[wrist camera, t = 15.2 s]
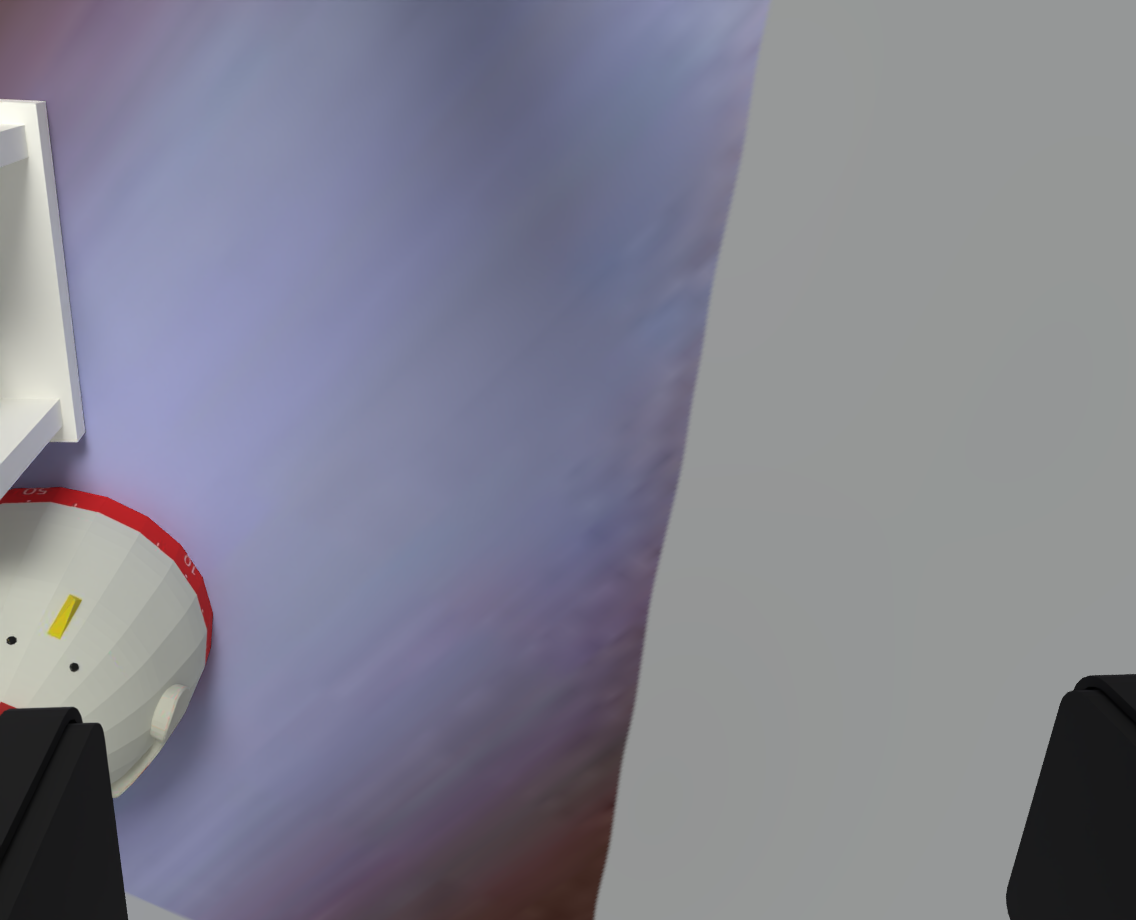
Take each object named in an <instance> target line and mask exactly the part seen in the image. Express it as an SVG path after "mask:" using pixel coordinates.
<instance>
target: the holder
mask: <svg viewBox="0 0 1136 920" xmlns="http://www.w3.org/2000/svg"><path fill="white" fill-rule="evenodd" d="M84 433H85V425H84V417H83V409H82V400H81V392H80V384H79V375H78V367H77V359H76V351H75V342H74V334H73V326H72V317H71V309H70V301H69V292H68V284H67V276H66V268H65V259H64V251H63V243H62V234H61V226H60V218H59V209H58V201H57V193H56V184H55V176H54V168H53V160H52V151H51V143H50V135H49V126H48V118H47V110H46V101H29V100H10V99H0V500H1V499H2V497H3V496H4V495H5V494H6V493H7V491H8V490H9V489H10V488H11V487H12V485H13V484H14V483H15V482H16V481H17V479H18V478H19V477H20V476H21V475H22V473H23V472H24V471H25V470H26V469H27V467H28V466H29V465H30V464H31V463H32V462H33V460H34V459H35V458H36V457H37V456H38V454H39V453H40V452H41V451H42V450H43V448H44V447H45V446H46V445H47V444H48V442H78V441H79V440H80V438H81V437H82V436H83V435H84Z"/></svg>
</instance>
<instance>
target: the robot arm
mask: <svg viewBox="0 0 1136 920" xmlns="http://www.w3.org/2000/svg"><path fill="white" fill-rule="evenodd" d="M1006 904H1007V909H1008V914H1009V917H1010V920H1136V674H1126V675H1095V676H1087V677H1084V678H1082V679H1081V680H1080V681H1079V682H1078V683H1077V684H1076V686H1075V688H1074V690H1073V691H1071V692H1068V693H1067V694H1066V695H1065V696H1064V697H1063V698H1062V701H1061V703H1060V706H1059V710H1058V713H1057V716H1056V720H1055V723H1054V727H1053V731H1052V734H1051V737H1050V741H1049V744H1048V748H1047V751H1046V755H1045V758H1044V762H1043V765H1042V769H1041V772H1040V776H1039V779H1038V783H1037V786H1036V790H1035V793H1034V797H1033V800H1032V804H1031V807H1030V811H1029V815H1028V817H1027V821H1026V824H1025V828H1024V831H1023V835H1022V838H1021V842H1020V845H1019V849H1018V852H1017V856H1016V859H1015V863H1014V866H1013V870H1012V873H1011V877H1010V880H1009V884H1008V887H1007V893H1006ZM0 920H128V915H127V907H126V899H125V892H124V884H123V876H122V868H121V860H120V852H119V845H118V837H117V829H116V821H115V813H114V806H113V798H112V790H111V782H110V774H109V767H108V759H107V751H106V743H105V736H104V731H103V728H102V726H101V724H100V723H98V722H97V723H83V721H82V716H81V714H80V712H79V710H78V709H77V708H75V707H46V708H13V709H8V710H5V711H4V712H3V713H2V714H1V716H0Z"/></svg>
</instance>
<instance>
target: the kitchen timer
mask: <svg viewBox="0 0 1136 920" xmlns="http://www.w3.org/2000/svg"><path fill="white" fill-rule="evenodd" d="M212 619H213V612H212V608H211V605H210V601H209V598H208V594H207V591H206V587H205V584H204V580H203V577H202V576H201V574H200V573H199V571H198V570H197V568H196V567H195V565H194V564H193V562H192V561H191V559H190V558H189V556H188V555H187V553H186V552H185V550H184V549H183V547H182V546H181V545H180V544H179V543H178V542H177V541H176V540H175V539H173V538H172V537H171V536H170V535H169V534H167V533H166V532H165V531H164V530H163V529H162V528H160V527H159V526H158V525H157V524H156V523H155V522H153V521H152V520H151V519H150V518H149V517H147V516H145V515H143V514H141V513H139V512H137V511H135V510H133V509H131V508H129V507H126V506H124V505H122V504H120V503H118V502H116V501H114V500H112V499H110V498H108V497H104V496H100V495H95V494H91V493H86V492H81V491H77V490H72V489H68V488H63V487H50V488H15V489H11V490H8V491H7V493H6V494H5V495H4V496H3V497H2V499H1V500H0V716H1V714H2V713H3V712H4V711H5V710H8V709H13V708H46V707H75V708H77V709H78V710H79V712H80V714H81V716H82V721H83V723H97V722H98V723H100V724H101V726H102V728H103V731H104V736H105V743H106V751H107V759H108V767H109V774H110V782H111V790H112V798H117V797H119V796H120V795H121V794H123V793H124V792H125V791H126V790H127V789H128V788H129V787H130V786H131V785H132V784H133V782H134V781H135V780H136V779H137V778H138V777H139V776H140V775H141V774H142V772H143V771H144V770H145V769H146V768H147V767H148V765H149V764H150V763H151V762H152V761H153V759H154V758H155V757H156V756H157V754H158V753H159V752H160V750H161V749H162V747H163V746H164V744H165V743H166V741H167V740H168V738H169V737H170V735H171V734H172V732H173V731H174V729H175V728H176V726H177V725H178V723H179V722H180V720H181V719H182V717H183V715H184V714H185V712H186V710H187V707H188V705H189V702H190V700H191V698H192V695H193V693H194V691H195V688H196V686H197V684H198V681H199V679H200V677H201V674H202V672H203V670H204V667H205V665H206V661H207V658H208V655H209V652H210V648H211V636H212Z"/></svg>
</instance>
